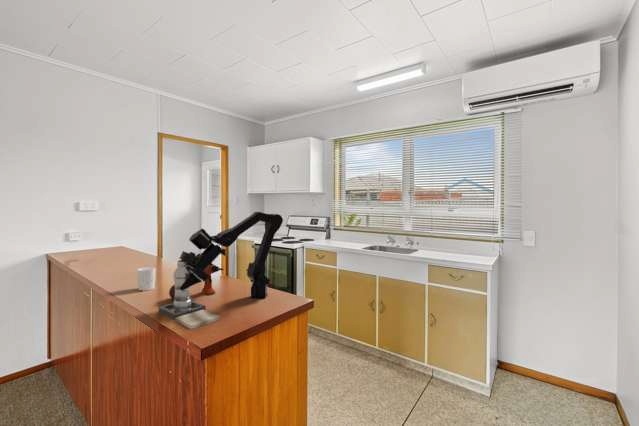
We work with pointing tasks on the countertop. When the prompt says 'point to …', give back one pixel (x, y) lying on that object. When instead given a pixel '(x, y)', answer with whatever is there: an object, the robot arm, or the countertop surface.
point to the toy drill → (210, 280)
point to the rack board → (197, 319)
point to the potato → (172, 292)
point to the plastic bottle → (181, 296)
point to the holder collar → (167, 311)
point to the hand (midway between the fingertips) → (178, 287)
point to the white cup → (146, 278)
